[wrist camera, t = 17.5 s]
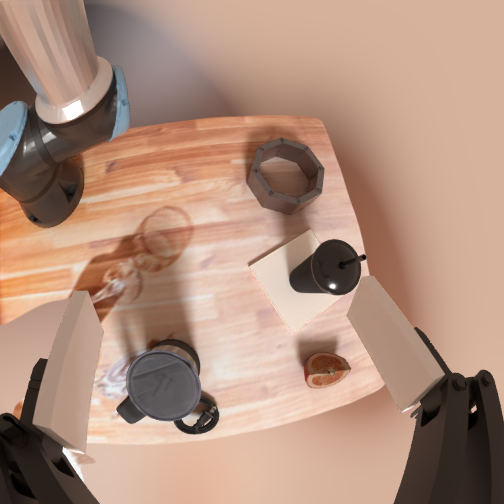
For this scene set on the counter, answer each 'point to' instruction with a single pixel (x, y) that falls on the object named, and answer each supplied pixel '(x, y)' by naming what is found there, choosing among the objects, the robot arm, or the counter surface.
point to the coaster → (278, 286)
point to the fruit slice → (325, 370)
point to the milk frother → (167, 387)
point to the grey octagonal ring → (292, 153)
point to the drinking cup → (328, 270)
